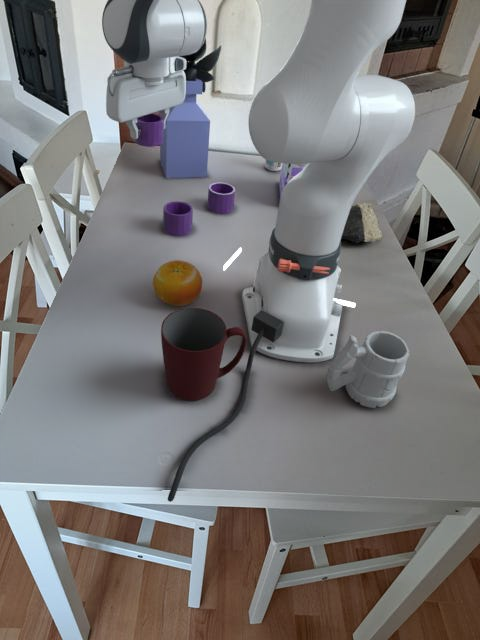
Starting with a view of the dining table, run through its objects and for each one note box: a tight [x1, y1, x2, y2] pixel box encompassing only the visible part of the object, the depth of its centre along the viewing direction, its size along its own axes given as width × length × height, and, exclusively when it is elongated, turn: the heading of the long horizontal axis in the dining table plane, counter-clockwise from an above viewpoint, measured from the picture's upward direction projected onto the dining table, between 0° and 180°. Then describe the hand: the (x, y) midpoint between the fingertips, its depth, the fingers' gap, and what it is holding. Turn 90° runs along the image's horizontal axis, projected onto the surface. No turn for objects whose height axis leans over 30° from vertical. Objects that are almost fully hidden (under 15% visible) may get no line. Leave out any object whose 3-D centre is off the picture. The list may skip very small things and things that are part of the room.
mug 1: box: [160, 307, 247, 402], centre depth 68 cm, size 12×9×11 cm
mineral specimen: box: [341, 202, 383, 243], centre depth 107 cm, size 13×7×15 cm
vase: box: [159, 38, 222, 179], centre depth 116 cm, size 14×12×35 cm
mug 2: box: [326, 330, 410, 409], centre depth 69 cm, size 8×12×12 cm, turn 102°
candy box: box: [278, 163, 308, 197], centre depth 116 cm, size 14×6×16 cm, turn 179°
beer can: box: [264, 159, 282, 172], centre depth 129 cm, size 5×5×12 cm
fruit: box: [152, 260, 203, 307], centre depth 83 cm, size 8×8×8 cm
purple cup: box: [133, 112, 163, 148], centre depth 101 cm, size 6×6×5 cm
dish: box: [162, 200, 194, 237], centre depth 102 cm, size 6×6×5 cm
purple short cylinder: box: [207, 181, 236, 215], centre depth 111 cm, size 6×6×5 cm
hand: (148, 133), depth 101 cm, fingers closed on purple cup, 6 cm apart
